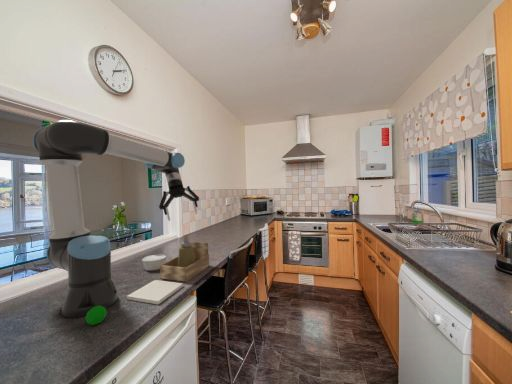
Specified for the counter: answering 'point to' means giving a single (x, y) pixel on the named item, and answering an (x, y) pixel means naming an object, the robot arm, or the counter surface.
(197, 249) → the wooden box
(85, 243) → the robot arm
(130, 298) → the cutting board
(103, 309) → the polyhedron
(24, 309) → the counter surface
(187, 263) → the squeeze bottle
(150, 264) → the ramekin
